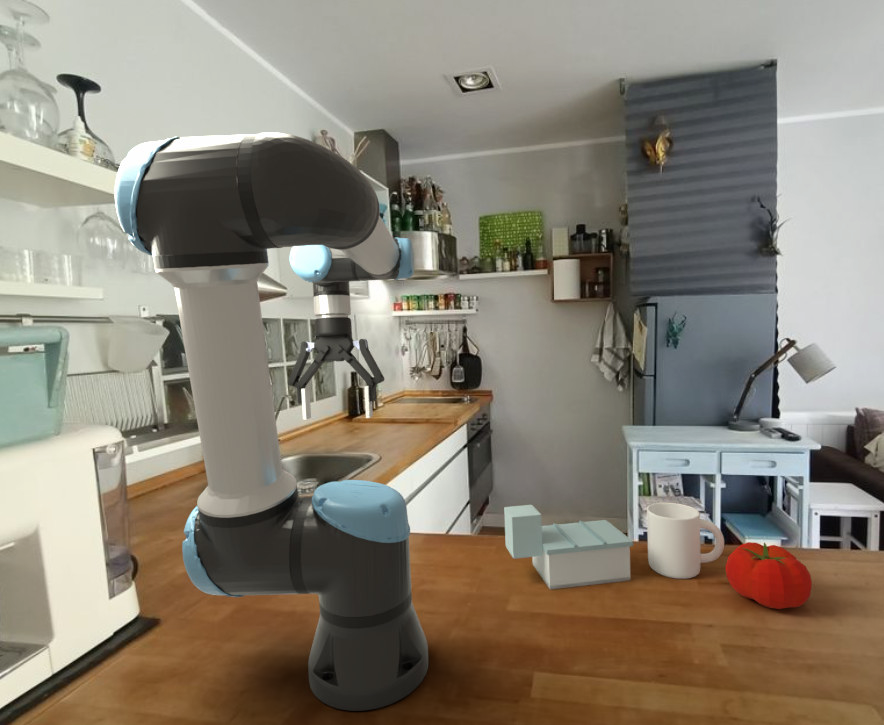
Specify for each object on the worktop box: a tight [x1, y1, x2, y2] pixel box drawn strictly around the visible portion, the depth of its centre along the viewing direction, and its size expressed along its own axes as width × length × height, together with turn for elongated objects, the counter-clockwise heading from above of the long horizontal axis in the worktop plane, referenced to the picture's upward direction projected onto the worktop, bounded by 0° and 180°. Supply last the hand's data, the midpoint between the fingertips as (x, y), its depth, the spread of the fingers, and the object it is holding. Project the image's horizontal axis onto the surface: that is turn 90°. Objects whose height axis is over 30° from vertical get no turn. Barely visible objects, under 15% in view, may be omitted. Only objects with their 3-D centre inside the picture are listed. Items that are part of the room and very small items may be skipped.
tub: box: [531, 546, 631, 590], centre depth 85 cm, size 9×14×6 cm, turn 98°
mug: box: [646, 502, 725, 580], centre depth 84 cm, size 12×8×10 cm
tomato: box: [725, 542, 813, 610], centre depth 74 cm, size 11×11×8 cm
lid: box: [503, 504, 634, 559], centre depth 84 cm, size 10×20×7 cm, turn 98°
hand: (338, 418), depth 103 cm, fingers open, 13 cm apart
